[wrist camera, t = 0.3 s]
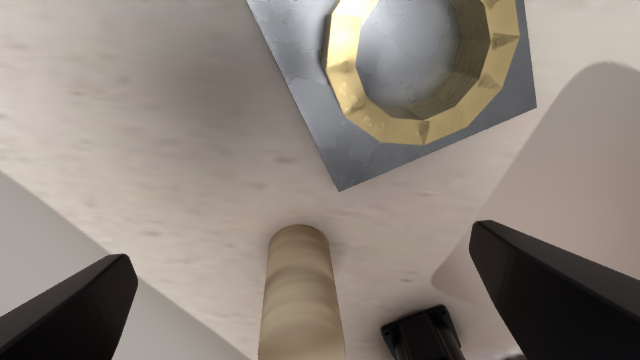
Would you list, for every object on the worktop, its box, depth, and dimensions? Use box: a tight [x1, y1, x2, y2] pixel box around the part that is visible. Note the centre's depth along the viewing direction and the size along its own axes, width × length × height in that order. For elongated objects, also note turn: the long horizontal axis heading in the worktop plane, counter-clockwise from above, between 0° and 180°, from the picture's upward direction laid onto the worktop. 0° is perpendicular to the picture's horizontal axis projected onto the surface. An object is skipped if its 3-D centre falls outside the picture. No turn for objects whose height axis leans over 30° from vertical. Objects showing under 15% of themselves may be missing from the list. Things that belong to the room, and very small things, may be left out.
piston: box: [258, 225, 346, 360], centre depth 21 cm, size 5×5×9 cm
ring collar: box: [246, 0, 537, 192], centre depth 17 cm, size 14×14×4 cm
